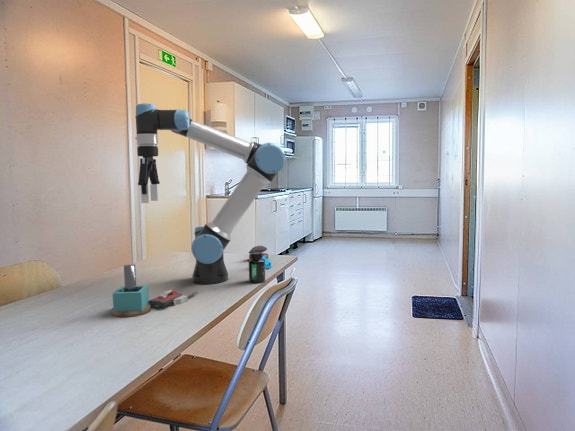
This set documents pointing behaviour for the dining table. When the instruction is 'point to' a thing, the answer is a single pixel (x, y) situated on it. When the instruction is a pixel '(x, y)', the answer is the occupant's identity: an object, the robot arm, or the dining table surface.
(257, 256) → the supplement bottle
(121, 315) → the post base
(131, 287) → the post
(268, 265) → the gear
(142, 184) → the robot arm
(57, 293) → the dining table surface
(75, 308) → the dining table surface
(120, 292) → the collar
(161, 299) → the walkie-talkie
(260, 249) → the dark mushroom
